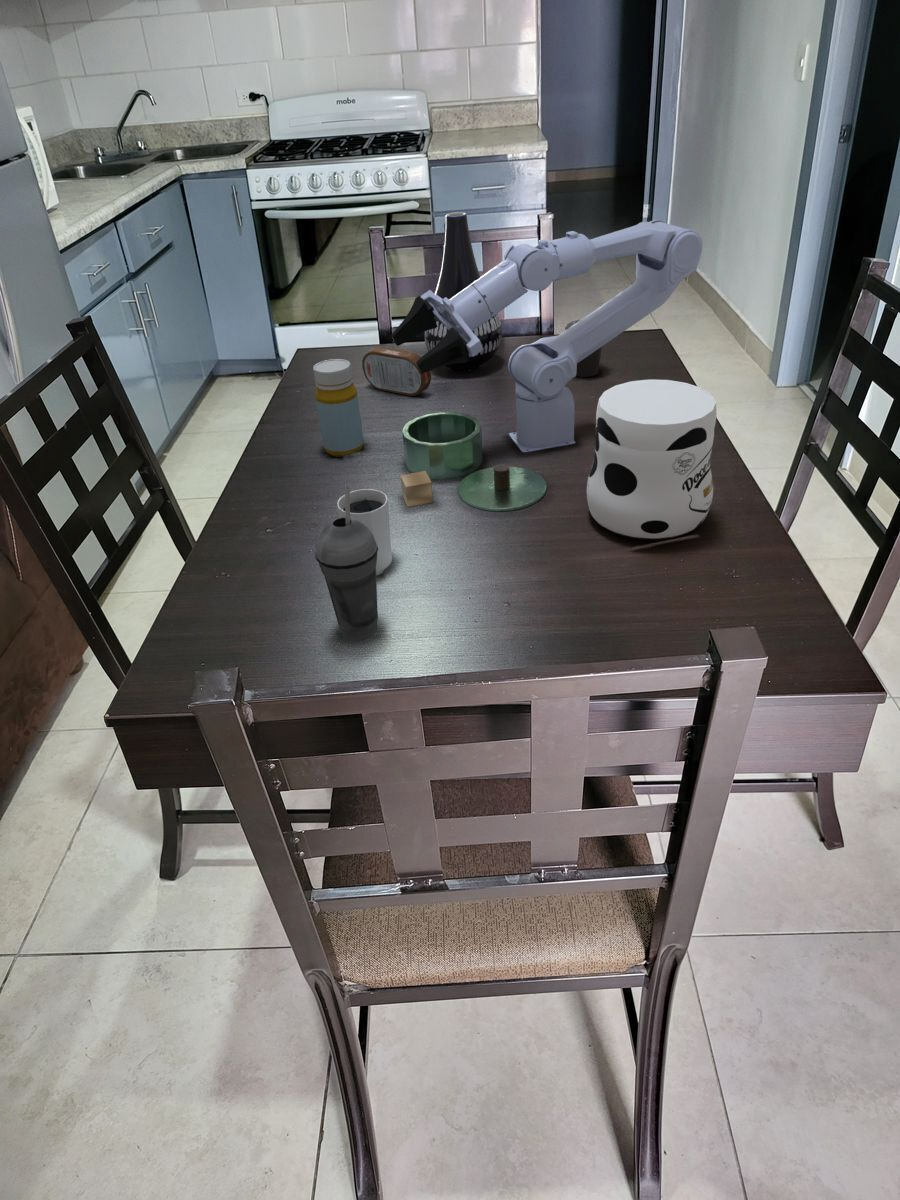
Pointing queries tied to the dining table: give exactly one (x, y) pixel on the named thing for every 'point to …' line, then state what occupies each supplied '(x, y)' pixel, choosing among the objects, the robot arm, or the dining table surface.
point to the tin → (395, 371)
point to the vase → (455, 278)
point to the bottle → (338, 407)
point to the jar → (443, 444)
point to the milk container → (652, 459)
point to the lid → (502, 488)
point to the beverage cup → (350, 573)
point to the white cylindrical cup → (372, 520)
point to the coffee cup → (587, 360)
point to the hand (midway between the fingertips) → (406, 354)
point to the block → (416, 488)
